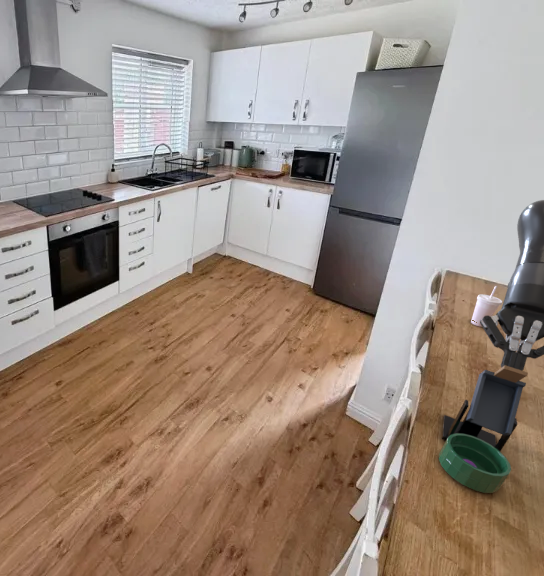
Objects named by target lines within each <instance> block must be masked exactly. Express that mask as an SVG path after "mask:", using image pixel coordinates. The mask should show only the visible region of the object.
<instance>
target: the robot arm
mask: <svg viewBox="0 0 544 576" xmlns="http://www.w3.org/2000/svg"><path fill="white" fill-rule="evenodd" d="M516 225H517V227H516V229H517V236H518V237H517V238H518V239H517V240H518V248H519V256H518V259H517V262H516V266H515V268H514V271H513V272H512V275H511V277H510V279H509V282H508V283H507V289H506V293H505V296H504V299H503V301H502V305H501V308H500V310H499V311H497V313H496V314H493V315H492V316H484V317H483V318H482V319H481V321H480V324H481V326H482V329H483V331H484V332H485V334H486V335H487V337H488V339H489V340H490V342H491V343H492V346H493V347H494V348H497V349H500V350H502V351H503V356H502V359H501V362H500V368H502V367H503V366H505V365H506V366H509V367H512V368H515V369H518V370H521V371H524V370H525V366H526V362H527V359H528V358H531V359H534V360H535V359H538V358H540V357H542V356H544V345H542V346H540V347H538V348H533V346H534V344H535V343H536V342H537V341H539V340H541V339H542V340H543V338H544V199H541V200H537V201H534V202H532V203H530V204H529V205H527V206H526V207H525V208H524V209H523V210H522V211H521V213H520V214H519V217H518V220H517V224H516ZM498 325H499V326H500V328H501V330H502V331H503V333H504V334H505V337H504V335H503V333H502V332H501V330H500V328H499V327H498Z"/></svg>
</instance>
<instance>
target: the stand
mask: <svg viewBox="0 0 544 576" xmlns="http://www.w3.org/2000/svg"><path fill="white" fill-rule="evenodd" d="M468 409H469V400H468V399H465V400H464V401H463V403H462V405H461V407H460V409H459V411H458V413H457V415H456V416H455V418H454V417H452V416H449V415H446V414H444V415H443V417H442V427H441V429H442V430H441V440H443V441H444V443H445V442H446V440H447V438H448V437H449V436H450V435H452V434H456V433H458V434H467V435H471V436H474V437H476V438H479V439H481V440H483V441H485V442H487V443H489V444H490V445H492V446H493V447H495V448H496V449H497V450H499V451H500V452H501V451H502V450H503V448H504V447H505V445H506V443H507V442H508V440H509V439H510V437H511V435H512V434H513V433H514V432H515V429H516V428H517V426H518V420H517V418H516V417H515V421H514V425H513V429H512V432H511V434H510V435H507V436H505V435H502V434H501V436H500V437H499V438H498V441H497V439H496V434H494V433H491V432H490V431H487V430H484V429H483V427H482V426H479V425H477V424H474V423H472V422H469V421H467V420H466V419H467V415H468V412H469V410H468ZM467 410H468V411H467ZM465 414H466V415H465ZM464 415H465V417H464ZM462 419H463V420H462Z"/></svg>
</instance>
